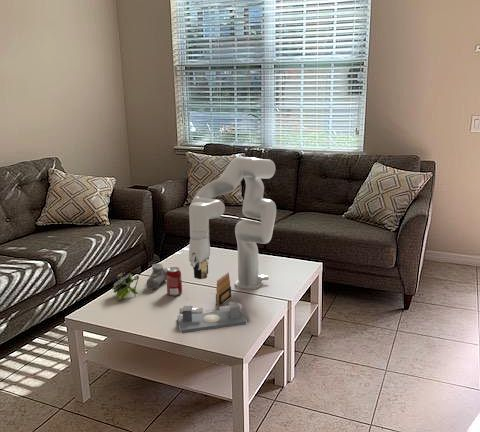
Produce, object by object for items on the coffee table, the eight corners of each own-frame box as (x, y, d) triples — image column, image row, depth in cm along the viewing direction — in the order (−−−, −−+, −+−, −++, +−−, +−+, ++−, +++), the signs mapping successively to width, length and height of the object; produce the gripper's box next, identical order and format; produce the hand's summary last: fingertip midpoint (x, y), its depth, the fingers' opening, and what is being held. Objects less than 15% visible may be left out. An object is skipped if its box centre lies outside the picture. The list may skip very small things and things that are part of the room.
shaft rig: (239, 311, 215) (238, 297, 213) (246, 324, 203) (246, 310, 202) (177, 319, 209) (176, 305, 207) (181, 333, 197) (180, 318, 196)
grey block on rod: (203, 316, 208) (202, 305, 207) (202, 321, 204) (201, 310, 202) (181, 316, 208) (180, 305, 207) (179, 321, 204) (179, 310, 202)
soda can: (179, 297, 230) (178, 272, 226) (165, 296, 231) (163, 271, 228) (184, 291, 236) (182, 266, 233) (170, 290, 237) (168, 266, 234)
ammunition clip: (219, 306, 220) (218, 280, 217) (216, 305, 221) (215, 279, 218) (231, 296, 229) (230, 271, 226) (227, 295, 230) (227, 271, 227)
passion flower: (123, 305, 237) (127, 276, 241) (143, 305, 231) (148, 276, 236) (104, 299, 226) (109, 270, 231) (125, 299, 221) (130, 269, 225)
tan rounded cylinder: (199, 273, 211) (198, 258, 209) (209, 275, 209) (208, 259, 207) (193, 278, 207) (192, 261, 205) (203, 279, 205) (203, 263, 203)
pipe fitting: (154, 278, 250) (153, 259, 246) (169, 281, 248) (169, 262, 244) (143, 290, 240) (142, 271, 235) (159, 293, 238) (158, 274, 233)
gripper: (201, 226, 212) (203, 267, 217) (180, 238, 197) (182, 282, 202) (217, 228, 209) (218, 270, 214) (197, 240, 194) (199, 284, 199)
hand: (201, 275), depth 208 cm, fingers closed on tan rounded cylinder, 4 cm apart
